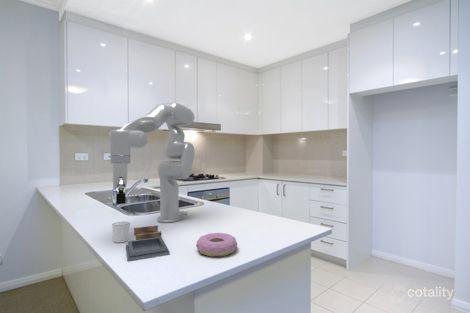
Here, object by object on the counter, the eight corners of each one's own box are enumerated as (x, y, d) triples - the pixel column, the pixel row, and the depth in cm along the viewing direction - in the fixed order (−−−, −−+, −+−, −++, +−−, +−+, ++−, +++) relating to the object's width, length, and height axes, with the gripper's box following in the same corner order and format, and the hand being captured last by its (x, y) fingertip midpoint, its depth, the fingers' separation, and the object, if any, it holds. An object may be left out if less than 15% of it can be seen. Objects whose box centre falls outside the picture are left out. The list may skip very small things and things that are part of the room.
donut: (221, 240, 109) (221, 228, 109) (245, 251, 98) (245, 238, 97) (188, 249, 99) (188, 236, 99) (211, 263, 88) (211, 248, 88)
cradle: (162, 241, 107) (162, 235, 107) (169, 254, 94) (169, 247, 94) (125, 247, 101) (125, 240, 101) (127, 261, 88) (127, 254, 88)
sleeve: (157, 231, 120) (157, 225, 120) (161, 239, 110) (161, 232, 110) (134, 234, 116) (134, 227, 116) (136, 242, 106) (136, 235, 106)
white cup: (120, 244, 104) (120, 226, 104) (108, 241, 106) (108, 224, 106) (133, 239, 110) (133, 222, 110) (121, 237, 113) (121, 220, 113)
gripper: (110, 159, 114) (110, 198, 114) (110, 160, 98) (110, 206, 98) (129, 159, 117) (129, 197, 117) (131, 160, 101) (131, 204, 101)
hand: (120, 201), depth 108 cm, fingers open, 9 cm apart
